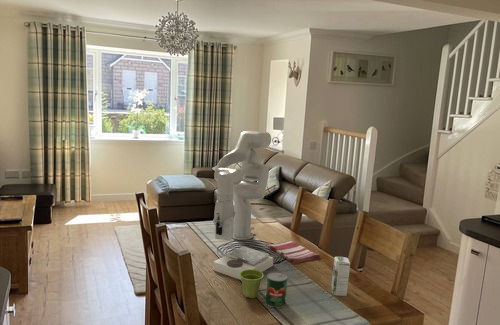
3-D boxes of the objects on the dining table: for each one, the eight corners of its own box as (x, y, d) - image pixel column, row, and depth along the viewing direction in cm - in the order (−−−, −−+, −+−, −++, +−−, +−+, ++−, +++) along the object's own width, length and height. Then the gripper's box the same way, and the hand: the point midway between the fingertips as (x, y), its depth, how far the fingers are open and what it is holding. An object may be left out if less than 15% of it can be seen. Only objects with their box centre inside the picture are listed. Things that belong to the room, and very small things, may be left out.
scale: (241, 255, 204) (242, 246, 204) (272, 265, 194) (273, 256, 194) (213, 270, 186) (213, 260, 186) (245, 281, 177) (246, 271, 176)
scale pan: (243, 248, 202) (243, 246, 202) (269, 256, 194) (269, 254, 194) (227, 256, 191) (227, 253, 191) (253, 264, 183) (254, 262, 183)
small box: (233, 236, 206) (234, 216, 204) (230, 240, 201) (231, 220, 199) (218, 235, 208) (218, 214, 206) (214, 239, 202) (215, 218, 200)
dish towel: (293, 265, 197) (294, 259, 197) (265, 248, 217) (266, 243, 216) (320, 258, 206) (321, 253, 206) (291, 243, 226) (291, 238, 225)
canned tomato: (270, 309, 155) (272, 281, 153) (261, 299, 162) (263, 273, 160) (289, 306, 158) (291, 278, 156) (279, 296, 165) (281, 270, 164)
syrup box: (330, 288, 174) (333, 256, 171) (344, 289, 174) (347, 257, 171) (332, 295, 168) (335, 261, 166) (347, 296, 168) (350, 262, 166)
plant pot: (245, 302, 159) (246, 281, 158) (234, 291, 168) (235, 271, 166) (266, 298, 164) (267, 277, 162) (255, 287, 172) (256, 267, 170)
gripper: (229, 192, 209) (228, 225, 213) (207, 199, 195) (206, 235, 199) (241, 195, 205) (240, 229, 209) (219, 202, 191) (218, 239, 194)
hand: (224, 231), depth 204 cm, fingers closed on small box, 7 cm apart
